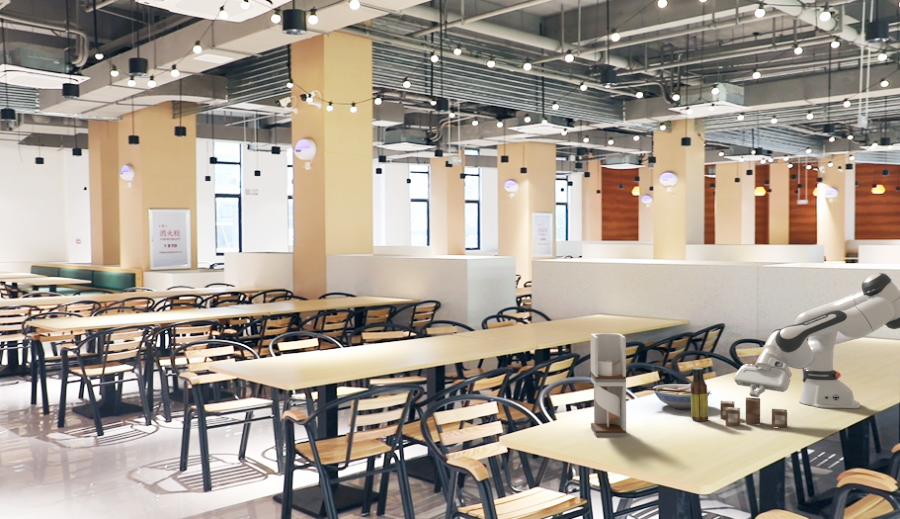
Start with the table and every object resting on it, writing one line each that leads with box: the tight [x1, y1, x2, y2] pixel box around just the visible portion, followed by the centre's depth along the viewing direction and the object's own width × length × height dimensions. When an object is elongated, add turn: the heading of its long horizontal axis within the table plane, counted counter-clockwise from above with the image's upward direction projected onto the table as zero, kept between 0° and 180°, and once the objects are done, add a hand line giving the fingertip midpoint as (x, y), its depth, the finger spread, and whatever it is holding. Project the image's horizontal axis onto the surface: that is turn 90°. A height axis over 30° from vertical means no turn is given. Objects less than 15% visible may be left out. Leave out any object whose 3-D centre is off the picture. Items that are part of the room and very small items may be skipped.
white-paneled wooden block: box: [725, 406, 741, 427], centre depth 289 cm, size 5×5×6 cm
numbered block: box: [771, 408, 788, 429], centre depth 285 cm, size 5×5×6 cm
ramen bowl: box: [646, 383, 712, 410], centre depth 319 cm, size 25×23×8 cm
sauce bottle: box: [689, 367, 709, 422], centre depth 296 cm, size 6×6×20 cm
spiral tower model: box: [589, 332, 627, 437], centre depth 279 cm, size 11×11×35 cm
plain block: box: [745, 397, 761, 425], centre depth 291 cm, size 5×5×9 cm
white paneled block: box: [720, 400, 735, 420], centre depth 300 cm, size 5×5×6 cm
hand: (753, 395), depth 291 cm, fingers closed
